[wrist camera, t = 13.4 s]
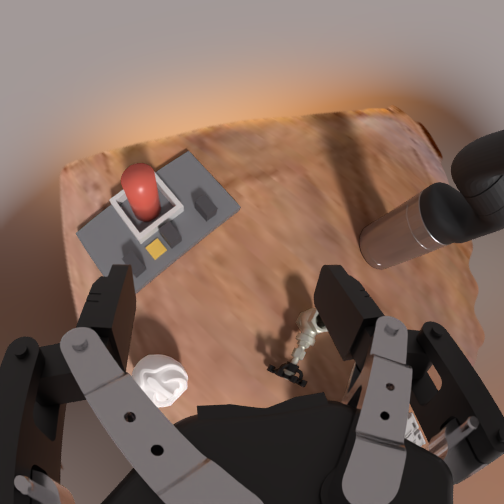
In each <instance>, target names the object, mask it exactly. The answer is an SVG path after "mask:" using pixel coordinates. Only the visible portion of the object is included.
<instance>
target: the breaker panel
mask: <svg viewBox="0 0 504 504" xmlns="http://www.w3.org/2000/svg"><path fill="white" fill-rule="evenodd" d="M154 173H155V178H156V183H157V189H158V194H159V199H160V204H161V211H160V214H159V215H158V217H157V218H156V219H154V220H152V221H150V222H142V221H140V220H138V219H137V218H136V217H135V215H134V213H133V211H132V208H131V206H130V204H129V201H128V199H127V197H126V194H125V192H124V189H123V190H122V191H120V192H119V193H118V194H116V195H115V196H114V197H112V198H111V199H110V200H109V201H110V203H111V205H110V206H109V207H107V208H106V209H105V210H103V211H102V212H101V213H100V214H98V215H97V216H96V217H95V218H93V219H92V220H91V221H90V222H89V223H87V224H86V225H85V226H84V227H83V228H81V229H80V230H79V231H78V232H77V233H76V235H77V236H78V238H79V240H80V241H81V243H82V244H83V246H84V247H85V249H86V251H87V252H88V254H89V255H90V257H91V258H92V260H93V261H94V263H95V264H96V266H97V267H98V269H99V270H100V271H101V273H102V274H103V276H104V277H108V275H109V272H110V269H111V267H112V265H113V264H130V265H131V267H132V273H133V280H134V287H135V294H136V293H138V292H139V291H140V290H141V289H142V288H143V287H145V286H146V285H147V284H148V283H149V282H151V281H152V280H153V279H154V278H155V277H157V276H158V275H159V274H160V273H161V272H163V271H164V270H165V269H166V268H168V267H169V266H170V265H171V264H172V263H174V262H175V261H176V260H177V259H178V258H180V257H181V256H182V255H183V254H185V253H186V252H187V251H188V250H190V249H191V248H192V247H193V246H195V245H196V244H197V243H198V242H200V241H201V240H202V239H203V238H205V237H206V236H207V235H208V234H210V233H211V232H212V231H213V230H215V229H216V228H217V227H219V226H220V225H221V224H222V223H224V222H225V221H226V220H228V219H229V218H230V217H231V216H233V215H234V214H235V213H237V212H238V211H239V210H240V206H239V205H238V204H237V202H236V201H235V200H234V199H233V198H232V197H231V196H230V195H229V194H228V193H227V192H226V190H225V189H224V188H223V187H222V186H221V185H220V184H219V183H218V182H217V181H216V180H215V179H214V177H213V176H212V175H211V174H210V173H209V172H208V171H207V170H206V169H205V168H204V167H203V166H202V165H201V164H200V162H199V161H198V160H197V159H196V158H195V157H194V156H193V155H192V154H191V153H190V152H189V151H187V152H186V153H184V154H183V155H181V156H180V157H178V158H176V159H175V160H173V161H172V162H170V163H169V164H167V165H166V166H164V167H163V168H161V169H160V170H158V171H157V172H154Z"/></svg>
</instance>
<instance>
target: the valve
mask: <svg viewBox="0 0 504 504" xmlns="http://www.w3.org/2000/svg"><path fill="white" fill-rule="evenodd" d="M296 324H297V326H298V328H299V329H300V331H301V333H298V334H297V336H296V340H298V342H297V344H298V348H294V350H293V352H292V354H291V356H293V359H292V361H291V362H287V363H284V364H282V365H281V366H280V368H278V369H275V367H274V366H272V365H269V366H268V368H267V371H270V372H272V373H275V374H276V375H278V376H280V377H283V378H285V379H287V380H289V381H291V382H293V383H297V384H298V385H300V386H302V387H305V386H306V384H307V381H305V380H302V378H303V373H302V371H301V370H299V369H298V368H299V366H297V363H298V361H299V360H303V358H304V356H305V354H306V352H304V350H305V349H306V348H309V346H313V345H314V343H315V341H316V340H315V339H314V338H315V336H316V335H317V334H319V333H321V332H326V331H328V330H327V328H326V326H325V324H324V322H323V321H322V319H321V317H320V315H319V313H318V311H317V309H316V308H310V309H308V310H306V311H305V312H300V314H299V316H298V319H297V321H296ZM296 372H297V373H299V374H300V376H299V378H298V377H297V376H294V375H295V374H296ZM301 380H302V381H301Z"/></svg>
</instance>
